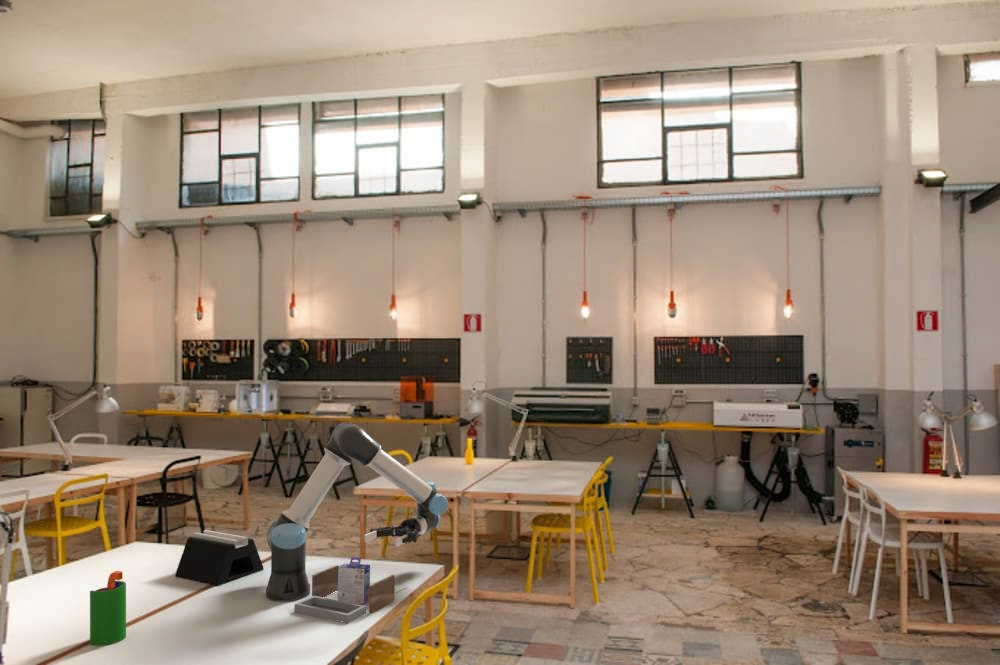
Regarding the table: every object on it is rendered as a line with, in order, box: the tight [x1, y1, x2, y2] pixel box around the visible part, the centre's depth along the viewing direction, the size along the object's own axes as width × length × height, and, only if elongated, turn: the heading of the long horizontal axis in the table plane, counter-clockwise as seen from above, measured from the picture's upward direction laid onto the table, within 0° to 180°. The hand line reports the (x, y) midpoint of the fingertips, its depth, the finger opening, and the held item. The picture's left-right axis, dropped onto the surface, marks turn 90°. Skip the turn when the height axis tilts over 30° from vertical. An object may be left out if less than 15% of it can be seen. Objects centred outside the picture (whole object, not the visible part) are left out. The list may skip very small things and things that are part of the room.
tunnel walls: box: [311, 564, 396, 615], centre depth 255 cm, size 25×13×9 cm, turn 63°
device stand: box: [174, 529, 264, 587], centre depth 286 cm, size 22×22×15 cm
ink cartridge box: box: [337, 557, 371, 605], centre depth 255 cm, size 10×6×14 cm, turn 78°
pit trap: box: [294, 595, 367, 624], centre depth 244 cm, size 22×9×2 cm, turn 63°
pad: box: [370, 580, 407, 595], centre depth 268 cm, size 16×12×1 cm
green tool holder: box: [89, 570, 127, 647], centre depth 222 cm, size 10×9×20 cm
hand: (380, 540), depth 268 cm, fingers open, 13 cm apart
